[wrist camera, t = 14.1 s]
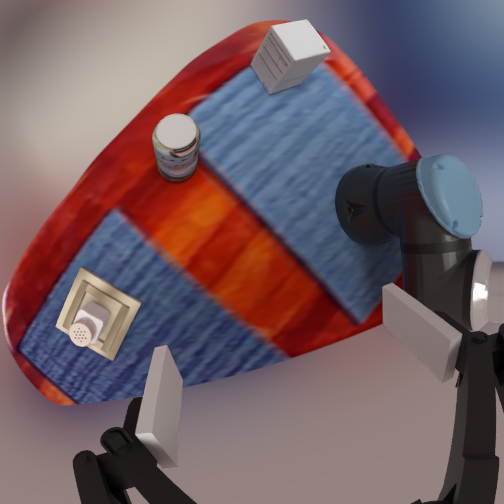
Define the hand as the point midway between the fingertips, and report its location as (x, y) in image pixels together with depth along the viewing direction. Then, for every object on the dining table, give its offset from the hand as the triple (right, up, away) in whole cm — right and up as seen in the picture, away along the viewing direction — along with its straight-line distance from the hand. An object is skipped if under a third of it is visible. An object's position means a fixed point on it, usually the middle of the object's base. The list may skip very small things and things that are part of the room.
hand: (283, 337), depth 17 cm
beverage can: (-14, +19, +28) cm, 36 cm away
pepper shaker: (-26, -5, +24) cm, 36 cm away
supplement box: (+2, +37, +31) cm, 49 cm away
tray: (-26, -5, +25) cm, 37 cm away
